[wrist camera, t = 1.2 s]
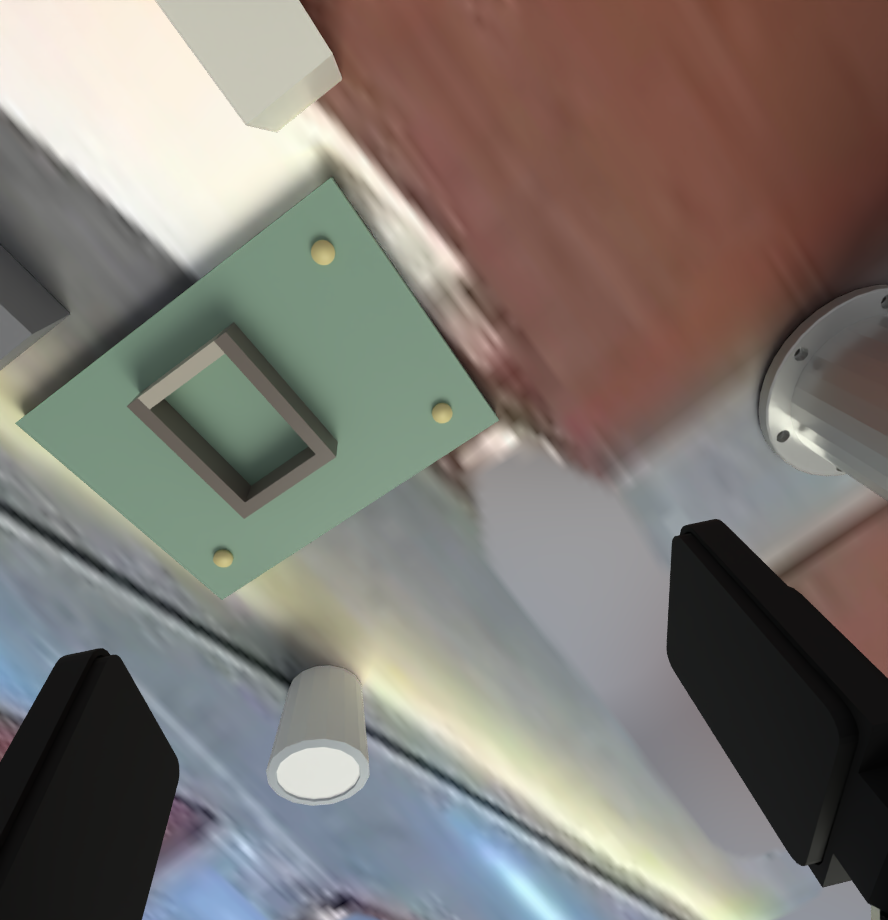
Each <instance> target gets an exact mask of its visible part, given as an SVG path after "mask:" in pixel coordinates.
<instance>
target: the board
mask: <svg viewBox="0 0 888 920" xmlns="http://www.w3.org/2000/svg"><path fill="white" fill-rule="evenodd" d="M233 322H234V323H235V324H236V325H237V326H238V327H239V328H240V330H241V331H242V332H243V333H244V334H245V335H246V337H247V338H248V339H249V340H250V341H251V342H252V343H253V345H254V346H255V347H256V348H257V349H258V350H259V352H260V353H261V354H262V355H263V356H264V357H265V358H266V360H267V361H268V362H269V363H270V364H271V365H272V366H273V368H274V369H275V370H276V371H277V372H278V373H279V375H280V376H281V377H282V378H283V379H284V380H285V381H286V383H287V384H288V385H289V386H290V387H291V388H292V390H293V391H294V392H295V393H296V394H297V395H298V396H299V398H300V399H301V400H302V401H303V402H304V403H305V405H306V406H307V407H308V408H309V409H310V410H311V411H312V413H313V414H314V415H315V416H316V417H317V418H318V419H319V421H320V422H321V423H322V424H323V425H324V426H325V428H326V429H327V430H328V431H329V432H330V433H331V434H332V436H333V437H334V438H335V439H336V440H337V441H338V446H337V455H336V457H335V458H334V459H333V460H331V461H330V462H328V463H327V464H325V465H324V466H322V467H321V468H319V469H318V470H316V471H315V472H313V473H312V474H310V475H309V476H307V477H306V478H304V479H303V480H301V481H300V482H298V483H297V484H295V485H294V486H292V487H291V488H289V489H288V490H287V491H285V492H284V493H282V494H281V495H279V496H278V497H276V498H275V499H273V500H272V501H270V502H269V503H267V504H266V505H264V506H263V507H261V508H260V509H258V510H257V511H255V512H254V513H252V514H251V515H249V516H248V517H246V518H245V519H243V518H242V517H241V516H240V515H239V514H238V513H237V512H236V511H235V510H234V509H233V508H232V507H231V506H230V505H229V504H228V503H227V502H226V501H225V500H224V499H223V498H222V497H220V496H219V495H218V494H217V493H216V492H215V491H214V490H213V489H212V488H211V487H210V486H209V485H208V484H207V483H206V482H205V481H204V480H203V479H202V478H201V477H200V476H199V475H198V474H196V473H195V472H194V471H193V470H192V469H191V468H190V467H189V466H188V465H187V464H186V463H185V462H184V461H183V460H182V459H181V458H180V457H179V456H178V455H177V454H176V453H175V452H174V451H172V450H171V449H170V448H169V447H168V446H167V445H166V444H165V443H164V442H163V441H162V440H161V439H160V438H159V437H158V436H157V435H156V434H155V433H154V432H153V431H152V430H151V429H150V428H148V427H147V426H146V425H145V424H144V423H143V422H142V421H141V420H140V419H139V418H138V417H137V416H136V415H135V414H134V413H133V412H132V411H131V410H130V409H129V408H128V407H127V405H128V404H129V403H130V402H131V401H132V400H133V399H134V398H135V397H136V396H137V395H138V394H139V393H140V392H142V391H143V390H144V389H146V388H147V387H148V386H150V385H151V384H152V383H154V382H155V381H156V380H158V379H159V378H160V377H161V376H163V375H164V374H165V373H167V372H168V371H169V370H171V369H172V368H173V367H175V366H176V365H177V364H179V363H180V362H181V361H183V360H184V359H185V358H187V357H188V356H189V355H191V354H192V353H193V352H195V351H196V350H197V349H199V348H200V347H201V346H203V345H204V344H205V343H207V342H208V341H209V340H211V339H212V338H213V337H215V336H216V335H217V334H219V333H220V332H221V331H223V330H224V329H225V328H227V327H228V326H229V325H231V324H232V323H233ZM164 399H165V400H166V401H167V402H168V403H169V404H170V405H171V406H172V407H173V408H174V409H175V410H176V411H177V412H178V413H179V414H180V415H181V416H182V417H183V418H184V419H185V420H186V421H187V422H188V423H189V424H190V425H191V426H192V427H193V428H194V429H195V430H196V431H197V432H198V433H199V434H200V435H201V436H202V437H203V438H204V439H205V440H206V441H207V442H208V443H209V444H210V445H211V446H212V447H213V448H214V449H215V450H216V451H217V452H218V453H219V454H220V455H221V456H222V457H223V458H224V459H225V460H226V461H227V462H228V463H229V464H230V465H231V466H232V467H233V468H234V469H235V470H236V471H237V472H238V473H239V474H240V475H241V476H242V477H243V478H244V479H245V480H246V481H247V482H248V483H249V484H250V485H253V484H254V483H256V482H257V481H259V480H260V479H262V478H263V477H265V476H266V475H268V474H269V473H270V472H272V471H273V470H275V469H276V468H278V467H279V466H281V465H282V464H284V463H285V462H287V461H288V460H289V459H291V458H292V457H294V456H295V455H297V454H298V453H300V452H301V451H303V450H304V449H305V448H307V447H308V445H307V444H306V443H305V442H304V441H303V440H302V438H301V437H300V436H299V435H298V434H297V433H296V432H295V431H294V430H293V428H292V427H291V426H290V425H289V424H288V423H287V422H286V421H285V420H284V418H283V417H282V416H281V415H280V414H279V413H278V412H277V411H276V410H275V408H274V407H273V406H272V405H271V404H270V403H269V402H268V401H267V400H266V398H265V397H264V396H263V395H262V394H261V393H260V392H259V391H258V390H257V389H256V387H255V386H254V385H253V384H252V383H251V382H250V381H249V380H248V379H247V377H246V376H245V375H244V374H243V373H242V372H241V371H240V370H239V369H238V367H237V366H236V365H235V364H234V363H233V362H232V361H231V360H230V359H229V357H228V356H227V355H226V354H224V355H222V356H221V357H220V358H218V359H217V360H216V361H214V362H213V363H212V364H210V365H209V366H207V367H206V368H205V369H203V370H202V371H201V372H199V373H198V374H197V375H195V376H194V377H193V378H191V379H190V380H189V381H187V382H186V383H185V384H183V385H182V386H181V387H179V388H178V389H177V390H175V391H174V392H172V393H171V394H170V395H168V396H167V397H166V398H164ZM497 421H499V419H498V417H497V415H496V413H495V412H494V410H493V409H492V408H491V406H490V405H489V403H488V402H487V400H486V399H485V397H484V396H483V395H482V393H481V392H480V390H479V389H478V387H477V386H476V384H475V383H474V381H473V380H472V379H471V377H470V376H469V374H468V373H467V371H466V370H465V368H464V367H463V366H462V364H461V363H460V361H459V360H458V358H457V357H456V355H455V354H454V352H453V351H452V350H451V348H450V347H449V345H448V344H447V342H446V341H445V339H444V338H443V337H442V335H441V334H440V332H439V331H438V329H437V328H436V326H435V325H434V323H433V322H432V321H431V319H430V318H429V316H428V315H427V313H426V312H425V310H424V309H423V308H422V306H421V305H420V303H419V302H418V300H417V299H416V297H415V296H414V294H413V293H412V292H411V290H410V289H409V287H408V286H407V284H406V283H405V281H404V280H403V279H402V277H401V276H400V274H399V273H398V271H397V270H396V268H395V267H394V265H393V264H392V263H391V261H390V260H389V258H388V257H387V255H386V254H385V252H384V251H383V250H382V248H381V247H380V245H379V244H378V242H377V241H376V239H375V238H374V236H373V235H372V234H371V232H370V231H369V229H368V228H367V226H366V225H365V223H364V222H363V221H362V219H361V218H360V216H359V215H358V213H357V212H356V210H355V209H354V207H353V206H352V205H351V203H350V202H349V200H348V199H347V197H346V196H345V194H344V193H343V192H342V190H341V189H340V187H339V186H338V184H337V183H336V181H335V180H334V178H333V177H331V178H330V179H328V180H327V181H326V182H325V183H323V184H322V185H321V186H319V187H318V188H317V189H316V190H314V191H313V192H312V193H310V194H309V195H308V196H307V197H305V198H304V199H303V200H301V201H300V202H299V203H298V204H296V205H295V206H294V207H292V208H291V209H290V210H289V211H287V212H286V213H285V214H283V215H282V216H281V217H280V218H278V219H277V220H276V221H274V222H273V223H272V224H271V225H269V226H268V227H267V228H265V229H264V230H263V231H262V232H260V233H259V234H258V235H256V236H255V237H254V238H253V239H251V240H250V241H249V242H247V243H246V244H245V245H244V246H242V247H241V248H240V249H238V250H237V251H236V252H235V253H233V254H232V255H231V256H229V257H228V258H227V259H226V260H224V261H223V262H222V263H220V264H219V265H218V266H217V267H215V268H214V269H213V270H212V271H210V272H209V273H208V274H206V275H205V276H204V277H203V278H201V279H200V280H199V281H197V282H196V283H195V284H194V285H192V286H191V287H190V288H188V289H187V290H186V291H185V292H183V293H182V294H181V295H179V296H178V297H177V298H176V299H174V300H173V301H172V302H170V303H169V304H168V305H167V306H165V307H164V308H163V309H161V310H160V311H159V312H158V313H156V314H155V315H154V316H152V317H151V318H150V319H149V320H147V321H146V322H145V323H143V324H142V325H141V326H140V327H138V328H137V329H136V330H134V331H133V332H132V333H131V334H129V335H128V336H127V337H125V338H124V339H123V340H122V341H120V342H119V343H118V344H116V345H115V346H114V347H113V348H111V349H110V350H109V351H107V352H106V353H105V354H104V355H102V356H101V357H100V358H98V359H97V360H96V361H95V362H93V363H92V364H91V365H89V366H88V367H87V368H86V369H84V370H83V371H82V372H80V373H79V374H78V375H77V376H75V377H74V378H73V379H71V380H70V381H69V382H68V383H66V384H65V385H64V386H63V387H61V388H60V389H59V390H57V391H56V392H55V393H54V394H52V395H51V396H50V397H48V398H47V399H46V400H45V401H43V402H42V403H41V404H39V405H38V406H37V407H36V408H34V409H33V410H32V411H30V412H29V413H28V414H27V415H25V416H24V417H23V418H21V419H20V420H19V421H18V422H16V423H15V424H17V425H18V426H19V427H20V428H21V429H22V430H24V431H25V432H26V433H27V434H28V435H29V436H31V437H32V438H33V439H34V440H35V441H36V442H38V443H39V444H40V445H41V446H42V447H43V448H45V449H46V450H47V451H48V452H49V453H51V454H52V455H53V456H54V457H55V458H56V459H58V460H59V461H60V462H61V463H62V464H63V465H65V466H66V467H67V468H68V469H69V470H70V471H72V472H73V473H74V474H75V475H76V476H77V477H79V478H80V479H81V480H82V481H83V482H84V483H86V484H87V485H88V486H89V487H90V488H91V489H93V490H94V491H95V492H96V493H97V494H99V495H100V496H101V497H102V498H103V499H104V500H106V501H107V502H108V503H109V504H110V505H111V506H113V507H114V508H115V509H116V510H117V511H118V512H120V513H121V514H122V515H123V516H124V517H125V518H127V519H128V520H129V521H130V522H131V523H132V524H134V525H135V526H136V527H137V528H138V529H140V530H141V531H142V532H143V533H144V534H145V535H147V536H148V537H149V538H150V539H151V540H152V541H154V542H155V543H156V544H157V545H158V546H159V547H161V548H162V549H163V550H164V551H165V552H166V553H168V554H169V555H170V556H171V557H172V558H173V559H175V560H176V561H177V562H178V563H179V564H180V565H182V566H183V567H184V568H185V569H186V570H188V571H189V572H190V573H191V574H192V575H193V576H195V577H196V578H197V579H198V580H199V581H200V582H202V583H203V584H204V585H205V586H206V587H207V588H209V589H210V590H211V591H212V592H213V593H214V594H216V595H217V596H218V597H219V598H220V599H221V600H223V599H224V598H226V597H227V596H229V595H230V594H232V593H233V592H235V591H236V590H238V589H240V588H241V587H243V586H244V585H246V584H247V583H249V582H250V581H252V580H253V579H255V578H257V577H258V576H260V575H261V574H263V573H264V572H266V571H267V570H269V569H270V568H272V567H273V566H275V565H277V564H278V563H280V562H281V561H283V560H284V559H286V558H287V557H289V556H290V555H292V554H294V553H295V552H297V551H298V550H300V549H301V548H303V547H304V546H306V545H307V544H309V543H310V542H312V541H314V540H315V539H317V538H318V537H320V536H321V535H323V534H324V533H326V532H327V531H329V530H331V529H332V528H334V527H335V526H337V525H338V524H340V523H341V522H343V521H344V520H346V519H347V518H349V517H351V516H352V515H354V514H355V513H357V512H358V511H360V510H361V509H363V508H364V507H366V506H368V505H369V504H371V503H372V502H374V501H375V500H377V499H378V498H380V497H381V496H383V495H384V494H386V493H388V492H389V491H391V490H392V489H394V488H395V487H397V486H398V485H400V484H401V483H403V482H405V481H406V480H408V479H409V478H411V477H412V476H414V475H415V474H417V473H418V472H420V471H421V470H423V469H425V468H426V467H428V466H429V465H431V464H432V463H434V462H435V461H437V460H438V459H440V458H442V457H443V456H445V455H446V454H448V453H449V452H451V451H452V450H454V449H455V448H457V447H458V446H460V445H462V444H463V443H465V442H466V441H468V440H469V439H471V438H472V437H474V436H475V435H477V434H478V433H480V432H482V431H483V430H485V429H486V428H488V427H489V426H491V425H492V424H494V423H495V422H497Z"/></svg>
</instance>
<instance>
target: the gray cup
mask: <svg viewBox="0 0 888 920" xmlns="http://www.w3.org/2000/svg"><path fill="white" fill-rule="evenodd" d="M266 772H267V778H268V784H269V785H270V786H271V787H272V789H273V790H274V791H275V792H276V793H277V794H278V795H279V796H281V797H283V798H285V799H287V800H289V801H292V802H294V803H300V804H306V805H312V806H313V805H324V804H333V803H336V802H339V801H341V800H344V799H347V798H350V797H351V796H352V795H354V794H355V793H356V792H358V791H359V790H360V789H362V788H363V786H364V784H365V783H366V781H367V779H368V777H369V760H368V749H367V739H366V728H365V718H364V707H363V697H362V686H361V683H360V682H359V680H358V679H357V677H356V676H355V675H354V674H353V673H351V672H349V671H348V670H346V669H345V668H340V667H336V666H332V665H327V666H315V667H312V668H310V669H307V670H304V671H302V672H301V673H300V674H299V675H297V676H296V677H295V678H294V679H293V680H292V683H291V685H290V687H289V690H288V693H287V697H286V701H285V704H284V708H283V712H282V715H281V719H280V723H279V726H278V730H277V734H276V737H275V741H274V745H273V748H272V752H271V756H270V759H269V763H268V767H267V770H266Z"/></svg>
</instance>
